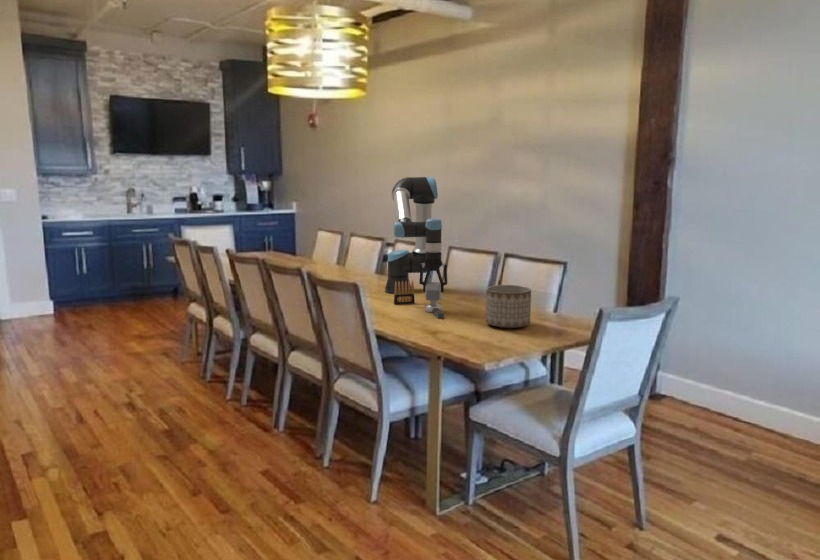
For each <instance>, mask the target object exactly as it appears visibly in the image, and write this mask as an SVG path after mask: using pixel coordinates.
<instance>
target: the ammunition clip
mask: <svg viewBox="0 0 820 560" xmlns="http://www.w3.org/2000/svg"><path fill="white" fill-rule="evenodd" d="M410 284H411V288H410ZM414 285H415V284H414V280H411V281H410V280H409V282H408V290H407V282H406V281H405V288H404V283H403V281H402V285H401V288H400V281H399V282H398V294H397V283H396V281H395V288H394V294H393V304H394V305H396V306H397V305H410V304H411V305H413V304H414V305H415V303H416V302H415V299H416V298H415V286H414Z"/></svg>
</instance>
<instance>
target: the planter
mask: <svg viewBox="0 0 820 560" xmlns="http://www.w3.org/2000/svg"><path fill="white" fill-rule="evenodd" d="M531 303H532V288H530V287H527V286H524V285H515V284H497V285H496V284H495V285H490V286H487V287H486V293H485V322H486V323H487V324H488V325H490V326H495V327H497V328H502V329H518V328H521V327H526V326H529V325H530V323H531V308H532V306H531Z"/></svg>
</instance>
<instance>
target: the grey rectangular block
mask: <svg viewBox="0 0 820 560" xmlns="http://www.w3.org/2000/svg"><path fill="white" fill-rule="evenodd" d="M440 285H441V284H440V281H427V283H426V299H425V300H426V301H430V300H431V301H436V302H438V301H440V300H439V286H440Z"/></svg>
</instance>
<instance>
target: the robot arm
mask: <svg viewBox="0 0 820 560" xmlns="http://www.w3.org/2000/svg"><path fill="white" fill-rule="evenodd" d="M438 197H439V195H438V187H437V182H436V179H435V178H434V177H429V176H417V177H416V176H413V177H409V176H407V177H403V178H401V179H400V180H398V181H397V182H396V183H395V184H394V186H393V188H392V191H391V198H392V200H393V202H394V208H395V219H396V221H395V222H394V223H393V236H394V237H395V238H402V239H404V238H415V241H414V243H415V244H414V245H415V246H414V247H413V248H412V250H411V251H412V252H410V251H409V249H399V250H393V251H390V252H389V253H388V254H387V281H386V283H385V286H384V292H385V293H387V294H392V295H394V288H395V281H396V283H397V294H398V282H399V281H400V288H401V285H402V281H403V283H404V288H405V281H406V282H407V290H408V282H409V281H410V278H409V274H419V285H422V288H423V289H422V291H423V293H425V297H424V298H425V300H426V284H427V283H428V280H429V275H430V273H433V271H434V272H435V273H436V274H437V278H438V280H439V281H438V282H440V286H439V301H441V300H442V293H444V292H445V291H444V287H445V286H447V285H448V283H449V282H448V270H447V269H448V266H449V265H448V263H443V261H442V252H441V251H442V230H443V229H442V228H443V226H442V220H441V219H440V218H432V210H433V209H432V207H433V205H434V204H435V201H436V200H438ZM410 200H413V201H412V203H413V204H414V205H415V221H413V220H412V213H411V205H410ZM441 267H442V268H443V277H442V273H441V271H440V268H441ZM424 274H425V277H424ZM410 288H411V283H410Z"/></svg>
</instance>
